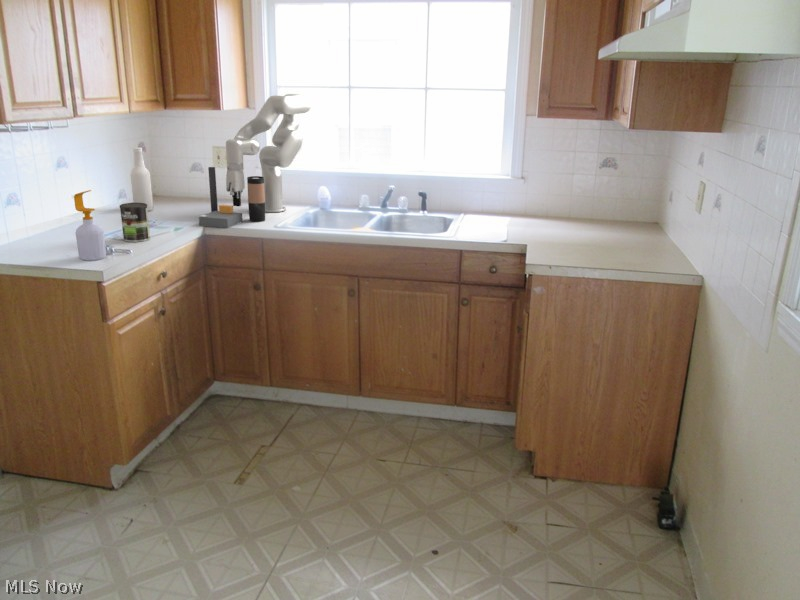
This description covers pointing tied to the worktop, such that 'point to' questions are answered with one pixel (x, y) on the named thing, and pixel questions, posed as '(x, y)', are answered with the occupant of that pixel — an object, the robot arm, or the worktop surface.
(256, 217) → the travel mug
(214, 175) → the post
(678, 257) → the worktop surface
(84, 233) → the soap bottle
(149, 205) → the alcohol
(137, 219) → the coffee can
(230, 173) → the robot arm
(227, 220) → the grey square slab
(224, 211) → the handle
